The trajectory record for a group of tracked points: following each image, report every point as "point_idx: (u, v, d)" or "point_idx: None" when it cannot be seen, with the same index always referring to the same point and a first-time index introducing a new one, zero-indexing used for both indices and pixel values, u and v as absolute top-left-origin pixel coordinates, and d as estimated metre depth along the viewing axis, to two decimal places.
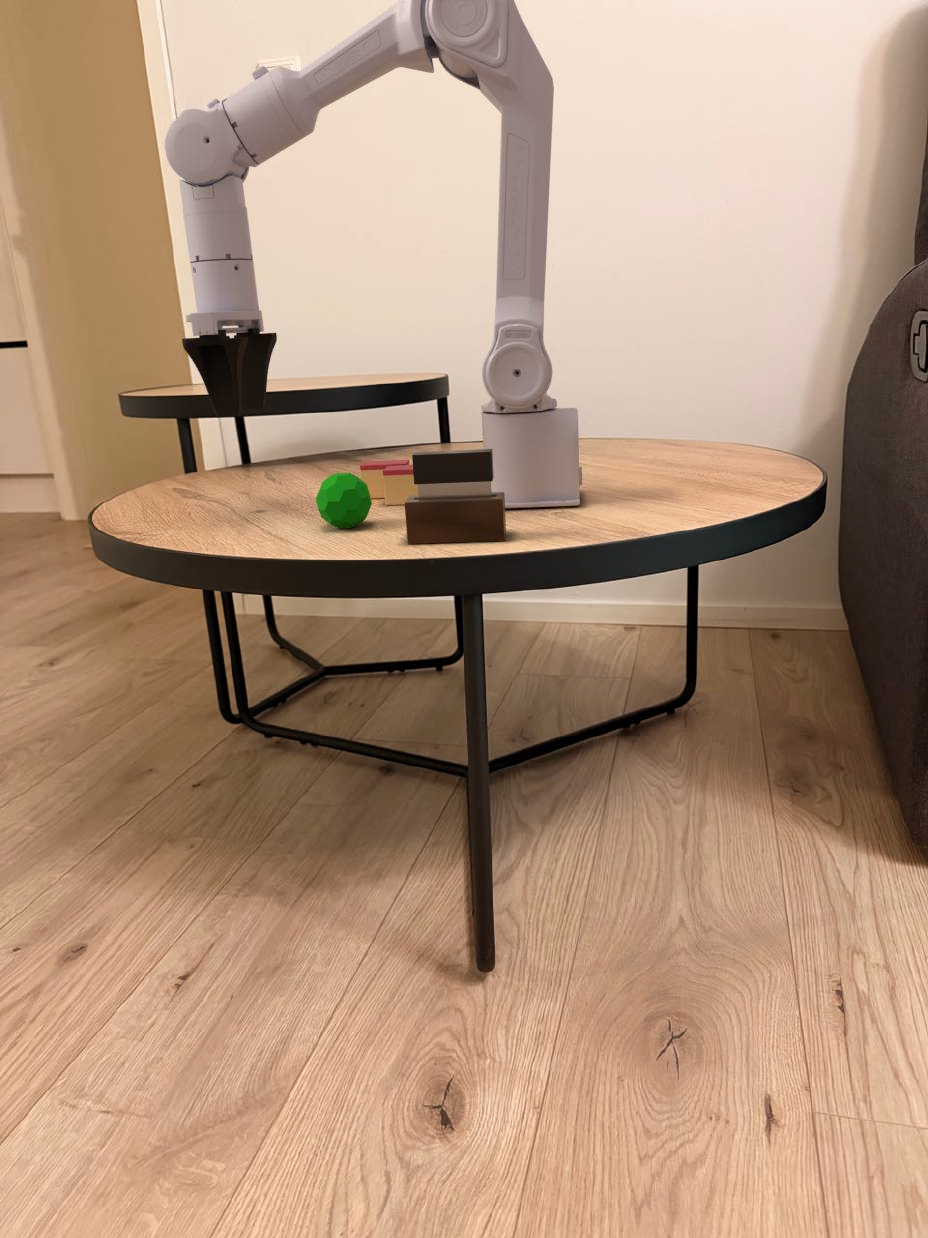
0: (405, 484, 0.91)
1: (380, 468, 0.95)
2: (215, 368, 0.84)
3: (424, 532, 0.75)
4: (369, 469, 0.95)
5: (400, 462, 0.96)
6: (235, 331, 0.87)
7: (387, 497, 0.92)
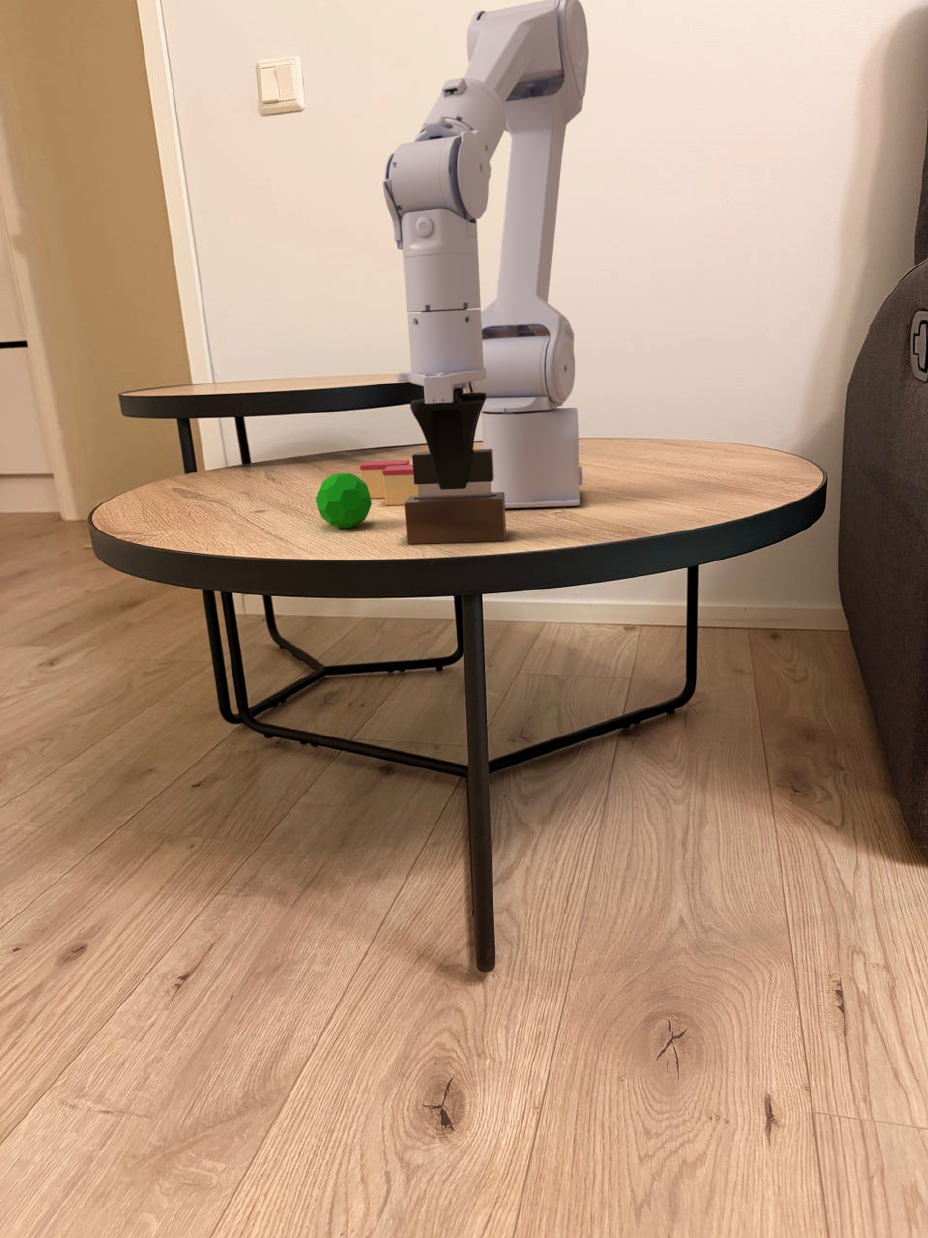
0: (405, 484, 0.91)
1: (380, 468, 0.95)
2: (443, 435, 0.72)
3: (424, 532, 0.75)
4: (369, 469, 0.95)
5: (400, 462, 0.96)
6: None
7: (387, 497, 0.92)
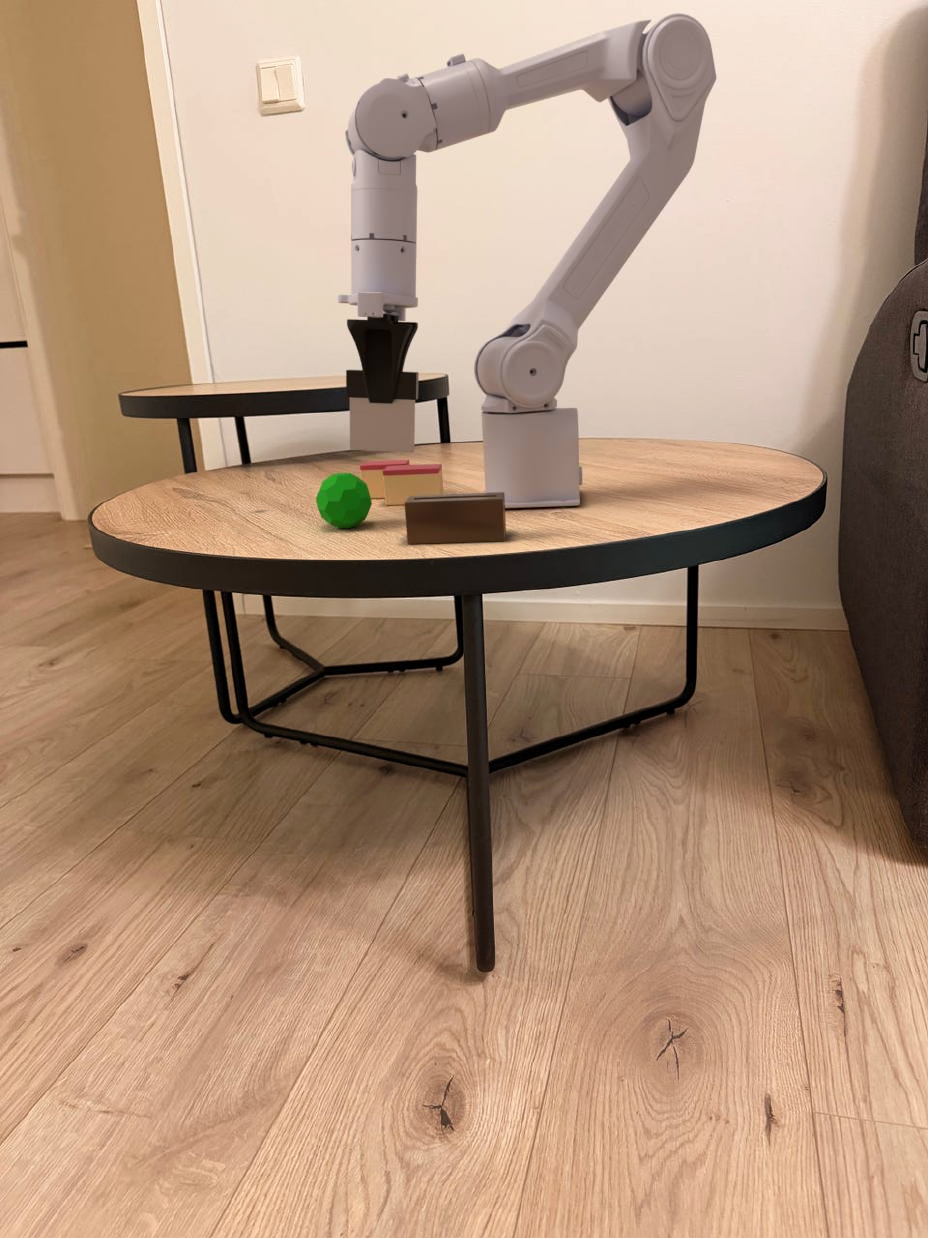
0: (405, 484, 0.91)
1: (380, 468, 0.95)
2: (375, 353, 0.81)
3: (424, 532, 0.75)
4: (369, 469, 0.95)
5: (400, 462, 0.96)
6: None
7: (387, 497, 0.92)
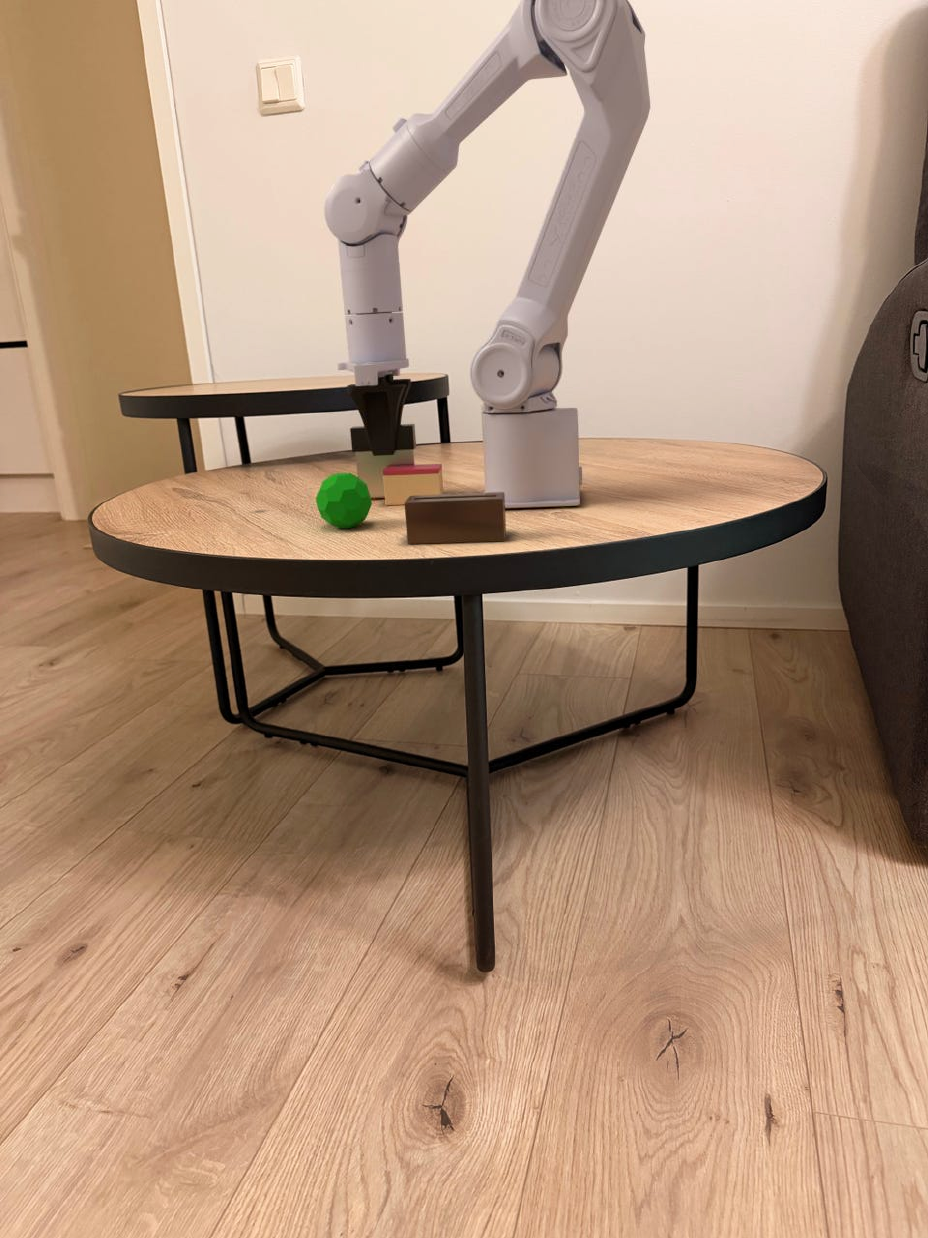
0: (405, 484, 0.91)
1: None
2: (375, 412, 0.91)
3: (424, 532, 0.75)
4: None
5: None
6: None
7: (387, 497, 0.92)
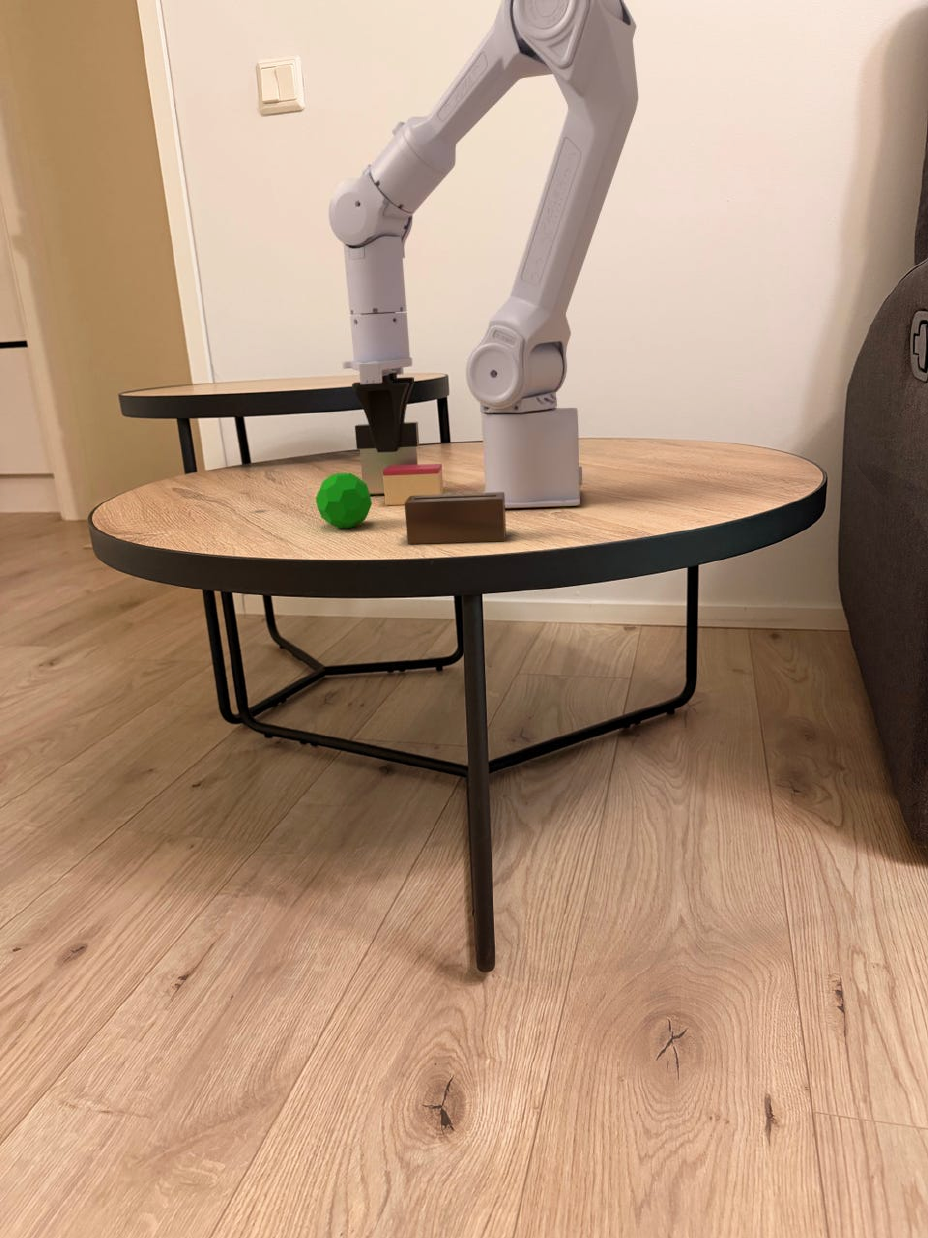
0: (405, 484, 0.91)
1: None
2: (379, 409, 0.94)
3: (424, 532, 0.75)
4: None
5: None
6: None
7: (387, 497, 0.92)
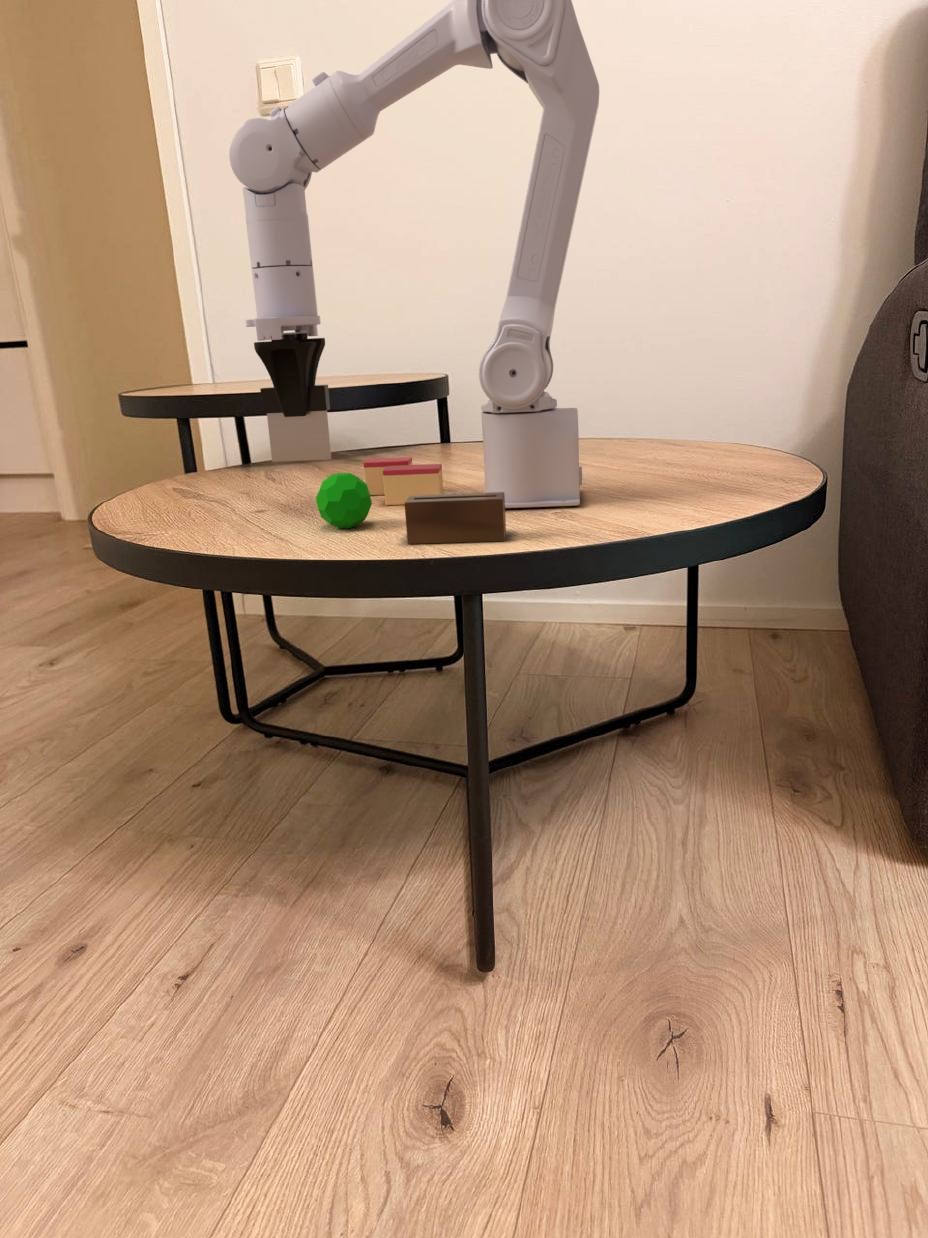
0: (405, 484, 0.91)
1: (383, 465, 0.97)
2: (284, 371, 0.88)
3: (424, 532, 0.75)
4: (372, 466, 0.97)
5: (403, 459, 0.98)
6: None
7: (387, 497, 0.92)
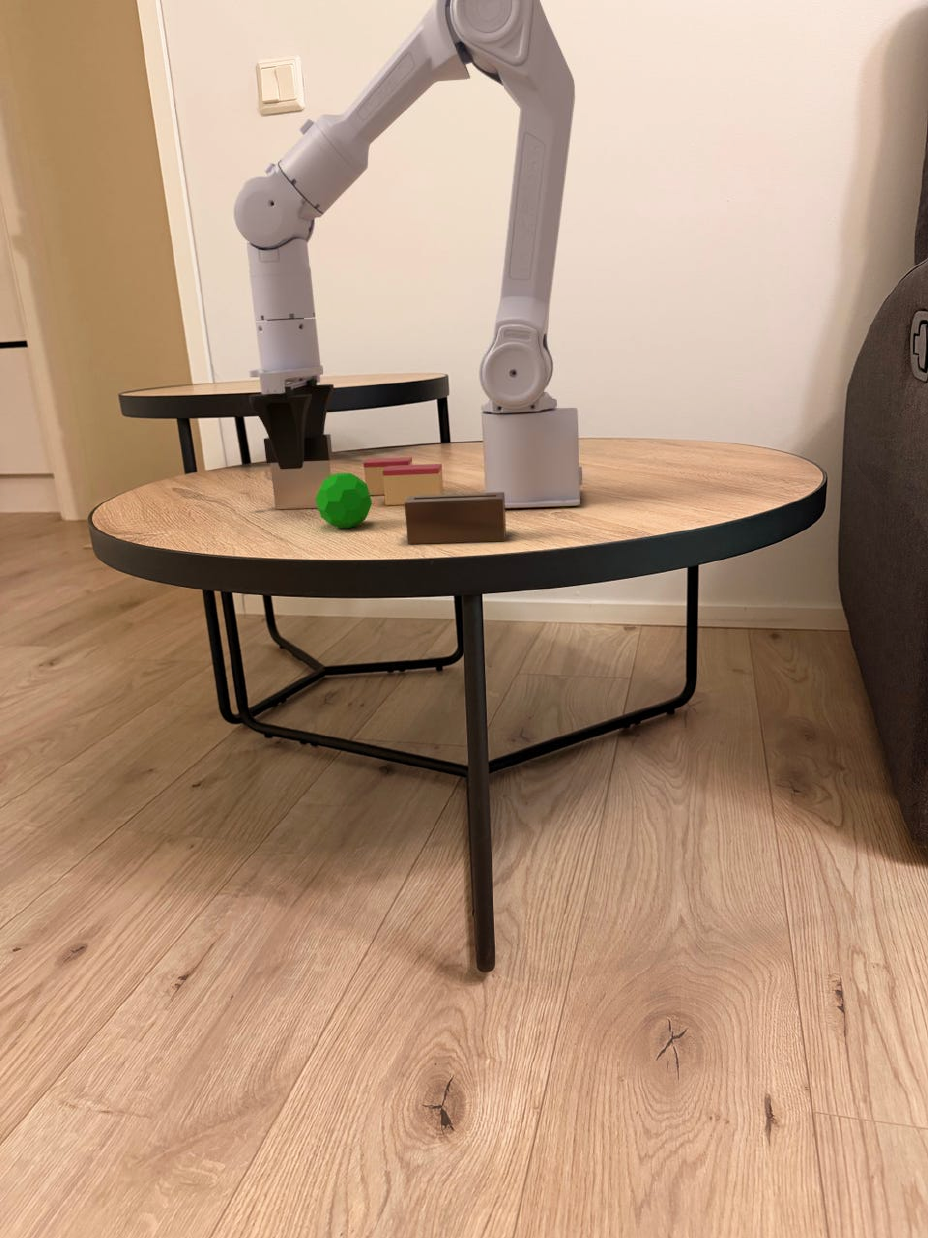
0: (405, 484, 0.91)
1: (383, 465, 0.97)
2: (280, 423, 0.87)
3: (424, 532, 0.75)
4: (372, 466, 0.97)
5: (403, 459, 0.98)
6: (297, 385, 0.90)
7: (387, 497, 0.92)
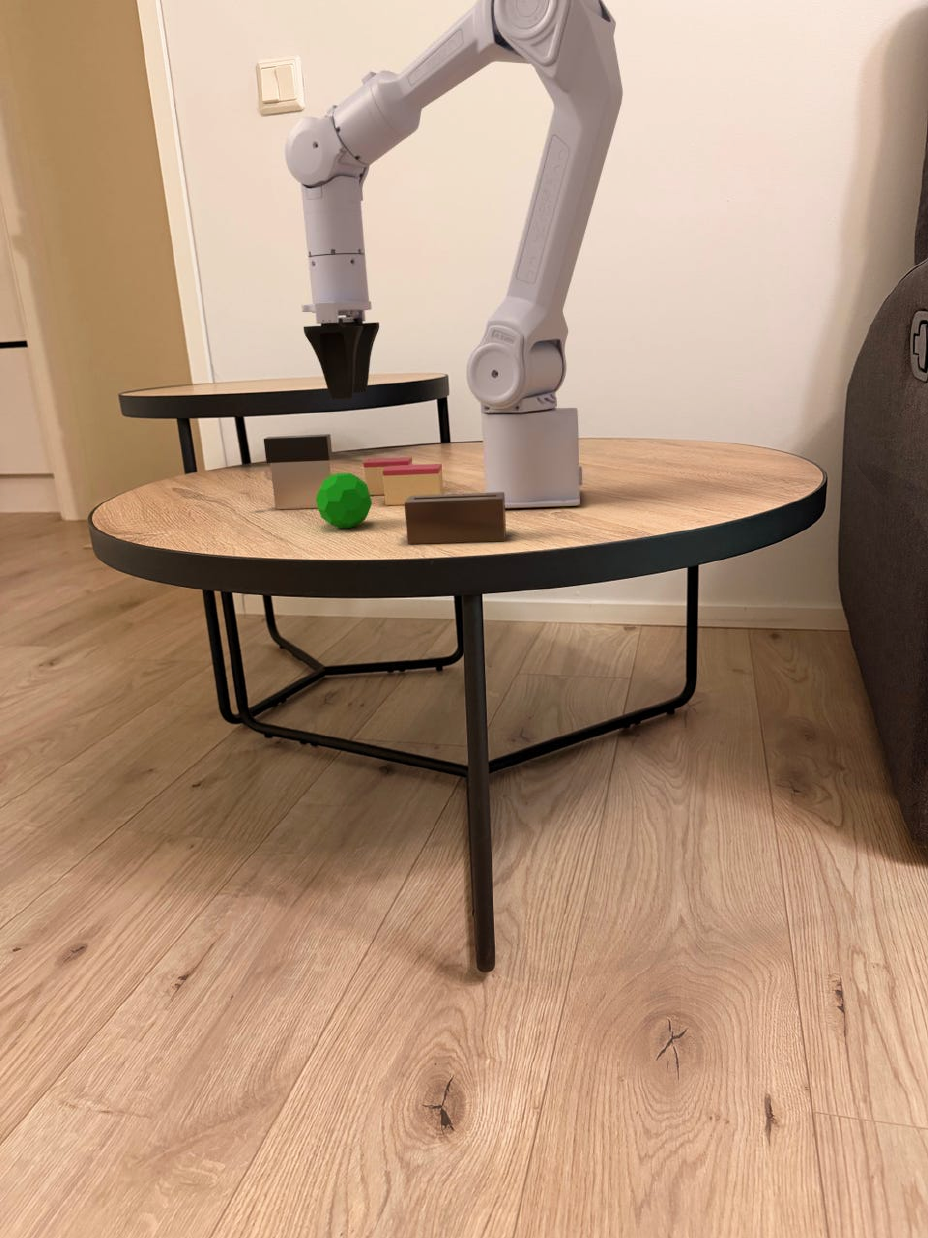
0: (405, 484, 0.91)
1: (383, 465, 0.97)
2: (332, 354, 0.91)
3: (424, 532, 0.75)
4: (372, 466, 0.97)
5: (403, 459, 0.98)
6: (346, 320, 0.94)
7: (387, 497, 0.92)
